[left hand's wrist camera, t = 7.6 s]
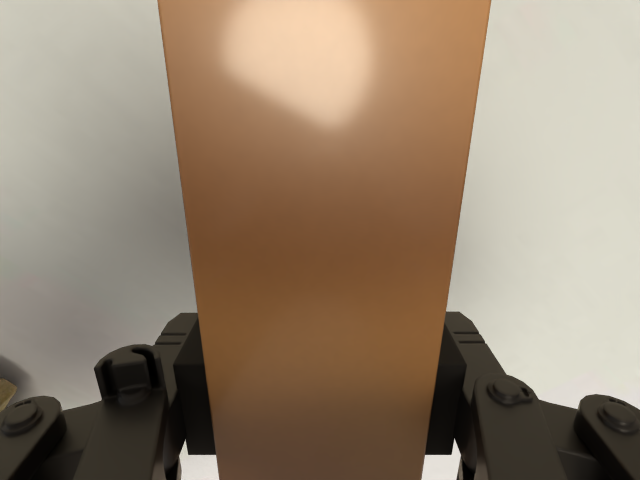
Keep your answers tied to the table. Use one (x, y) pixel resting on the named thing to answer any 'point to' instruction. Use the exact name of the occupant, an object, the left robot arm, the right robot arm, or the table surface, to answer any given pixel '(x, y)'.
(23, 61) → the table surface
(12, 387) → the sculpture
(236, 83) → the post
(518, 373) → the table surface
